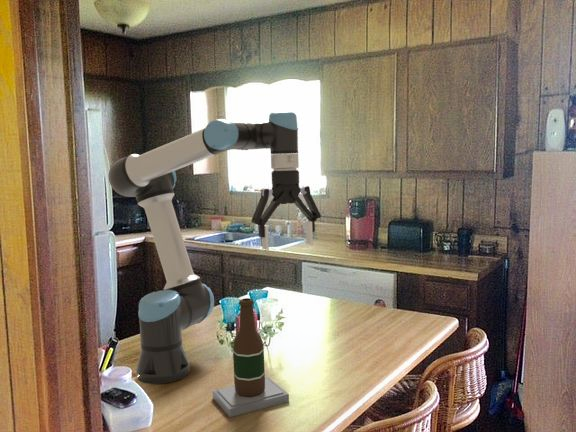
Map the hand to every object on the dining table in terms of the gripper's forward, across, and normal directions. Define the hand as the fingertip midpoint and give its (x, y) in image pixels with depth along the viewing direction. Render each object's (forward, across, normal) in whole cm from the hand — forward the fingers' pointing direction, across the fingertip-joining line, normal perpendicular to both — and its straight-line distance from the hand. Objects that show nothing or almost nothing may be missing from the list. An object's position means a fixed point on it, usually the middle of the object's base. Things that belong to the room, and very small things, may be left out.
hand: (287, 246), depth 149 cm
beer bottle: (+35, -17, -9) cm, 39 cm away
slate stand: (+37, -17, -9) cm, 41 cm away
